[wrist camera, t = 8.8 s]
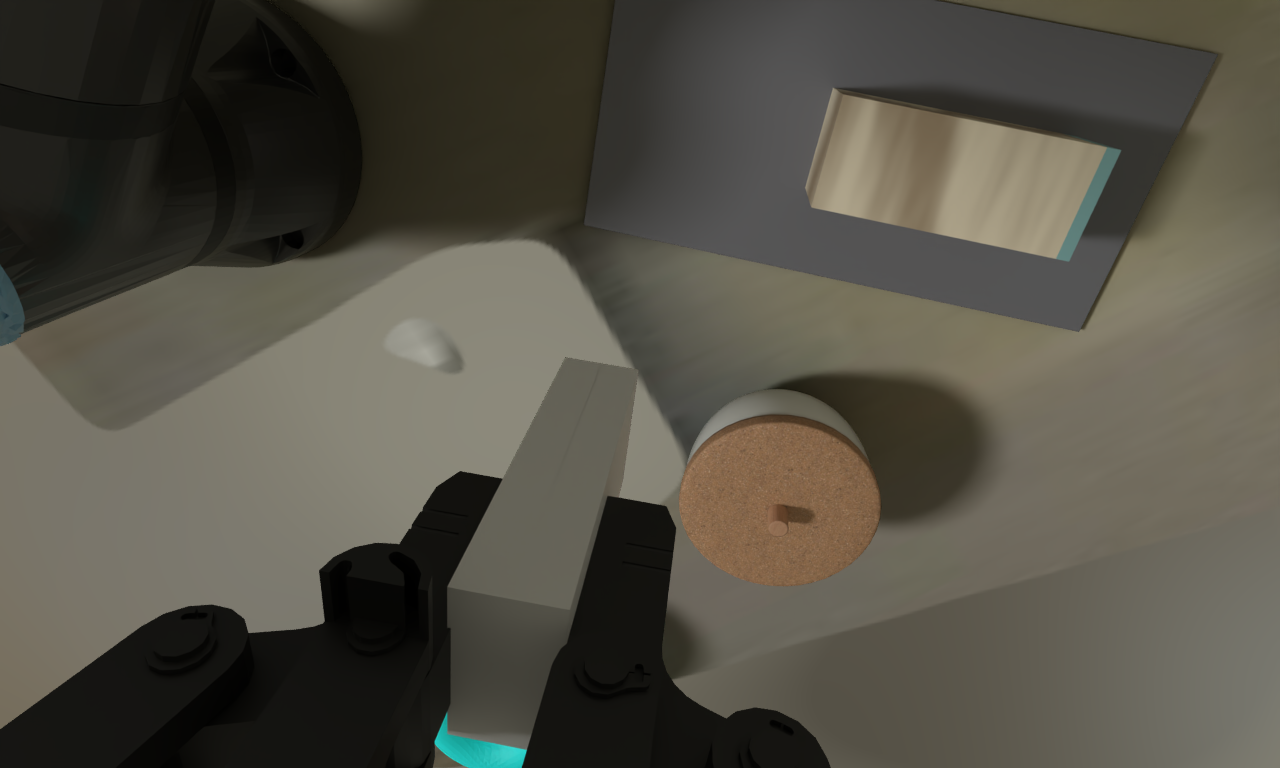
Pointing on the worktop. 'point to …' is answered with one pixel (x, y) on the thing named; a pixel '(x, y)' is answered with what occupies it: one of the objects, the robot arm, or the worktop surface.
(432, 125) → the worktop surface
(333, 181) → the robot arm
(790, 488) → the lidded jar
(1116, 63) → the rubber mat
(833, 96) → the birch block
